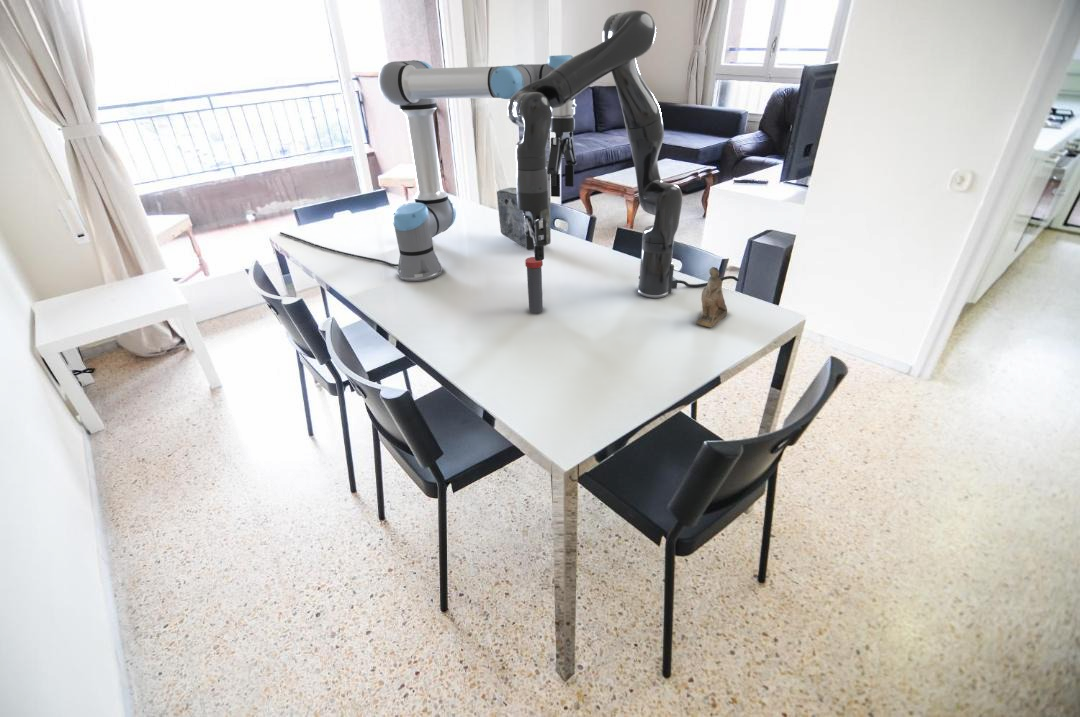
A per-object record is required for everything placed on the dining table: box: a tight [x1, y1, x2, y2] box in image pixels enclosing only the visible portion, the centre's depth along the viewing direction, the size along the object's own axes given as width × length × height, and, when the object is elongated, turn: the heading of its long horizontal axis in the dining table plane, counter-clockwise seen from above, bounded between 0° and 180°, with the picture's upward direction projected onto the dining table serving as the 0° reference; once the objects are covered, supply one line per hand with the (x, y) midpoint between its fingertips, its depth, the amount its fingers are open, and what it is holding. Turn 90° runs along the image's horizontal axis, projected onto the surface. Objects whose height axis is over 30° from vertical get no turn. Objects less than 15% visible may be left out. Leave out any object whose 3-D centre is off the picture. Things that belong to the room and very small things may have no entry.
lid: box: [524, 256, 544, 268], centre depth 140 cm, size 5×5×2 cm
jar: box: [526, 266, 544, 315], centre depth 144 cm, size 4×4×16 cm
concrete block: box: [496, 187, 552, 248], centre depth 194 cm, size 27×9×20 cm, turn 36°
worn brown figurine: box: [695, 266, 728, 328], centre depth 135 cm, size 12×6×18 cm, turn 136°
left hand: (562, 191), depth 156 cm, fingers open, 13 cm apart
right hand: (534, 254), depth 125 cm, fingers open, 8 cm apart
